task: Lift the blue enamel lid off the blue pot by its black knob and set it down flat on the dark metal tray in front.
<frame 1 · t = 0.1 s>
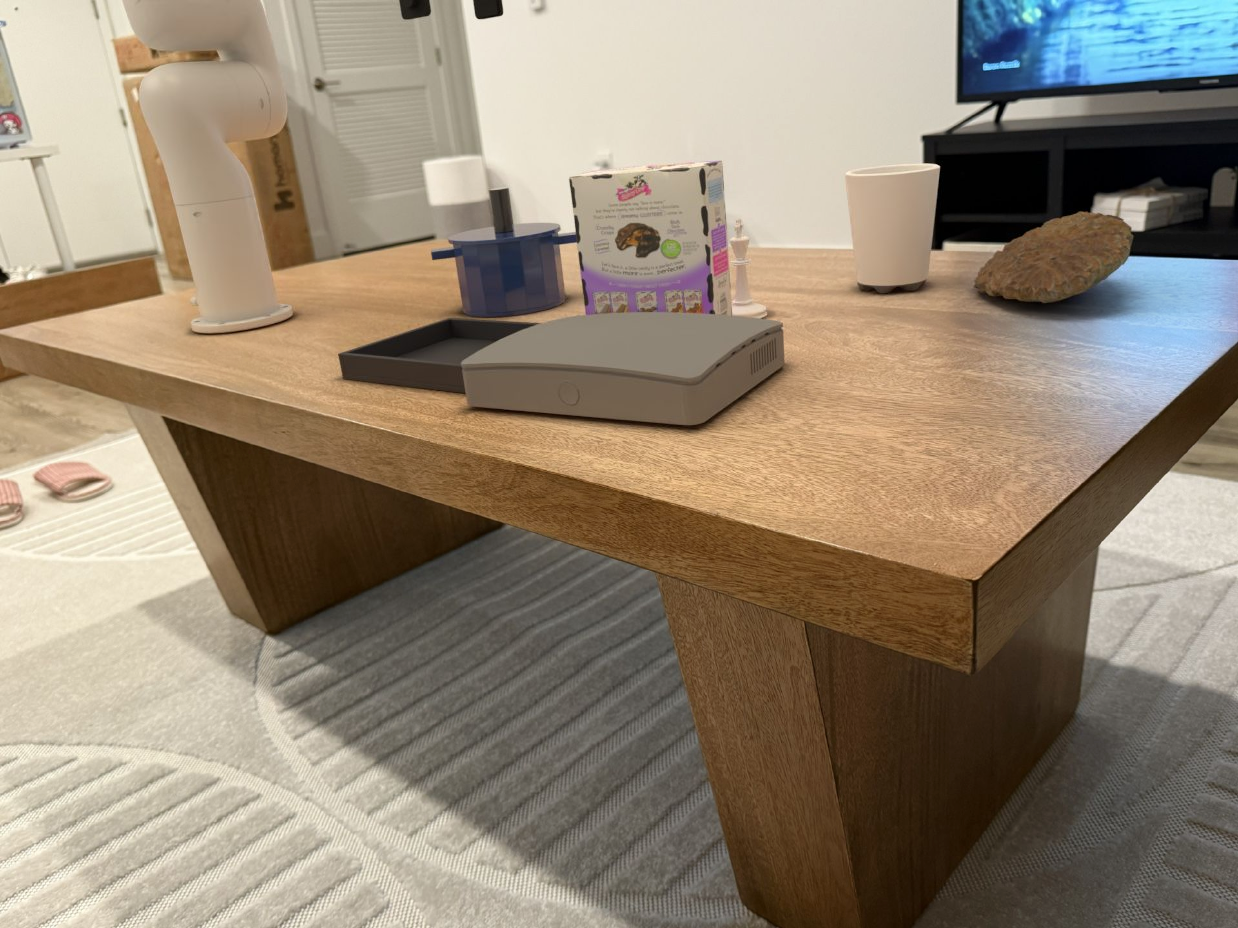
hand: (454, 17, 92), 31 cm above the table, tool pointing down, fingers open, 9 cm apart
chess piece: (743, 318, 104), on the table
candy box: (660, 339, 98), on the table
tray: (461, 364, 96), on the table
electronic device: (633, 387, 83), on the table
lid: (505, 235, 119), point 8 cm above the table, touching pot
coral: (1046, 300, 98), on the table
pot: (514, 305, 122), on the table
cup: (892, 289, 110), on the table
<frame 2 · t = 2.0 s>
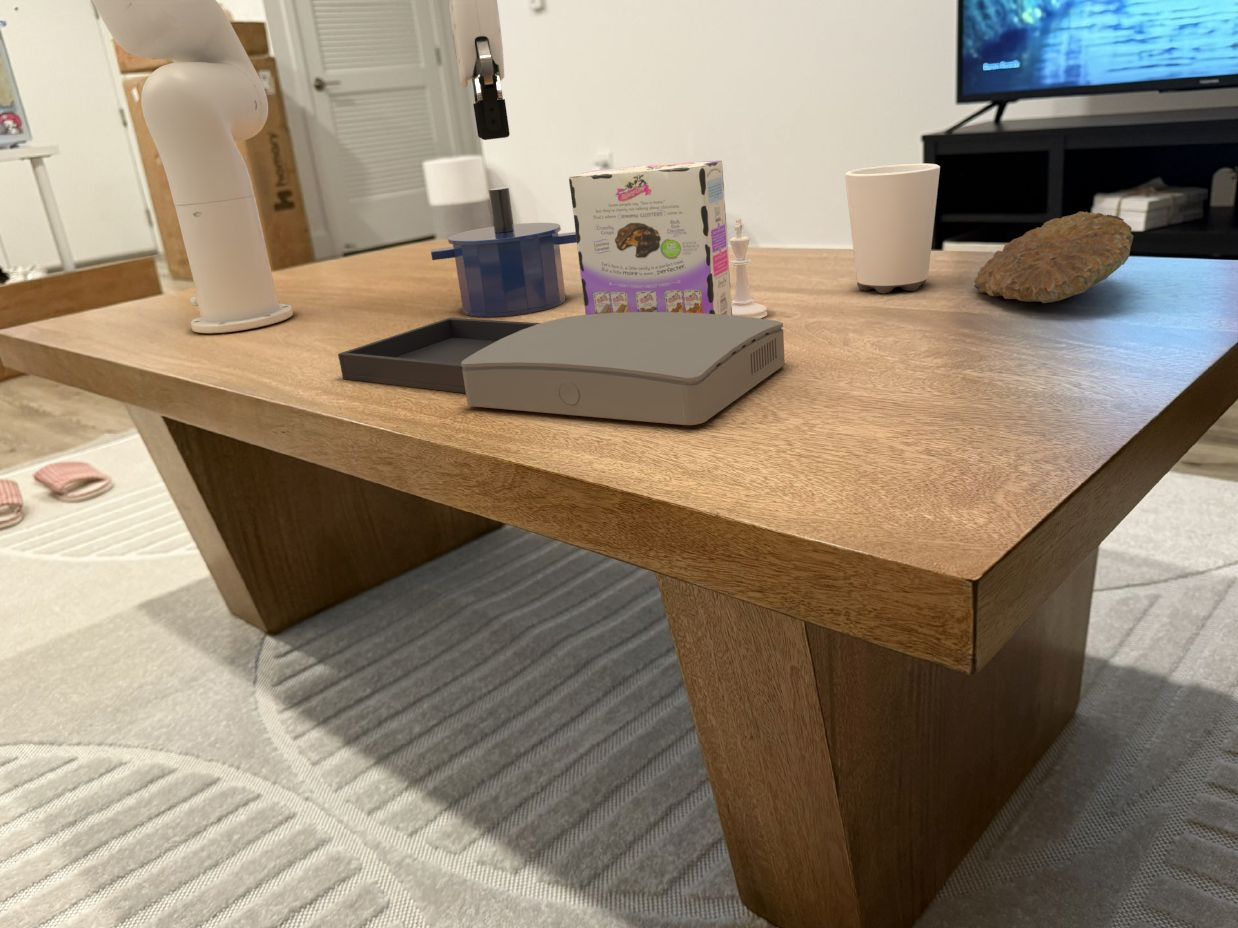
hand: (493, 137, 115), 20 cm above the table, tool pointing down, fingers open, 9 cm apart
nothing on the table moved.
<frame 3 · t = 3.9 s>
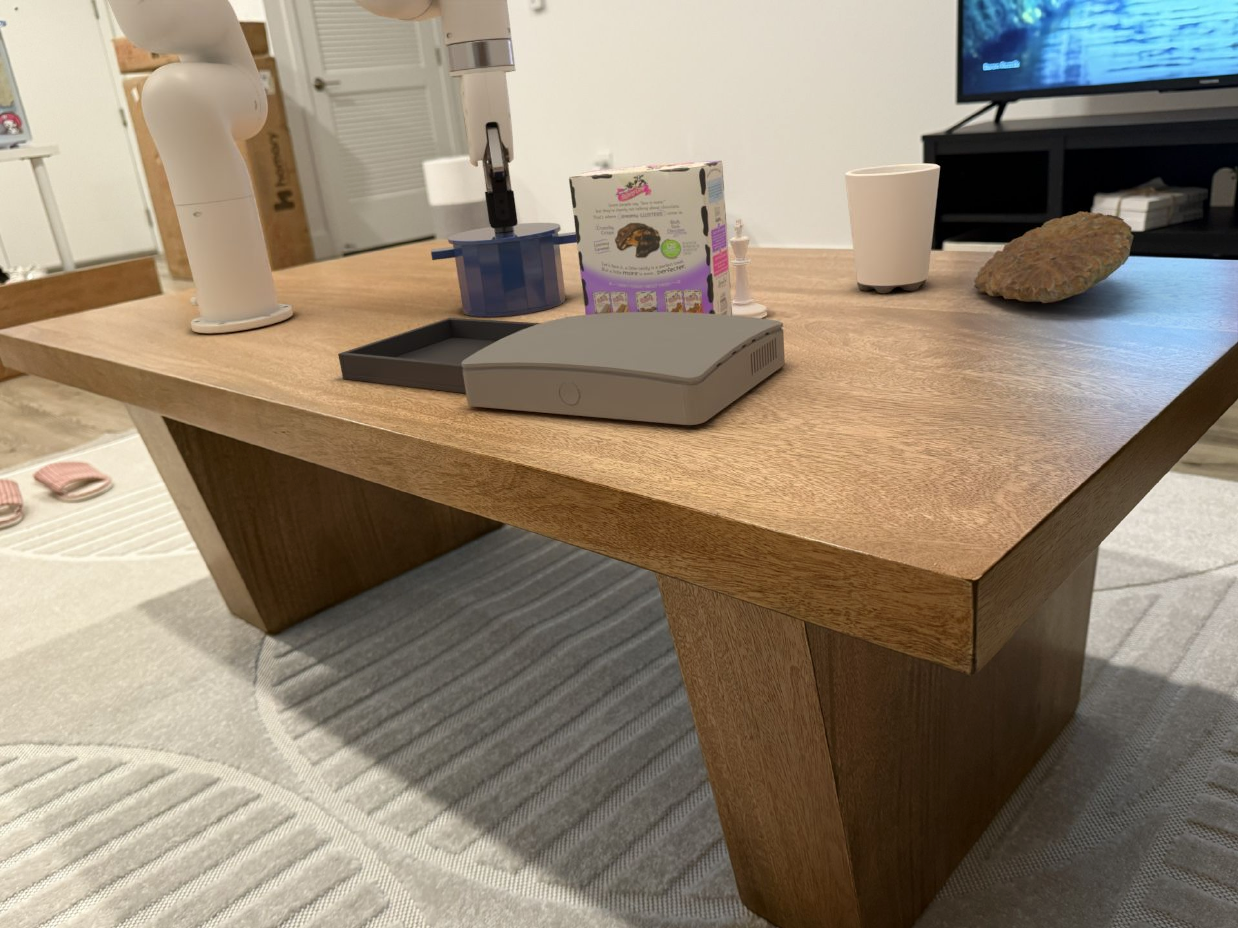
hand: (503, 224, 118), 10 cm above the table, tool pointing down, fingers closed on lid, 2 cm apart
lid: (504, 235, 119), point 9 cm above the table, touching gripper, pot
everything else where it was.
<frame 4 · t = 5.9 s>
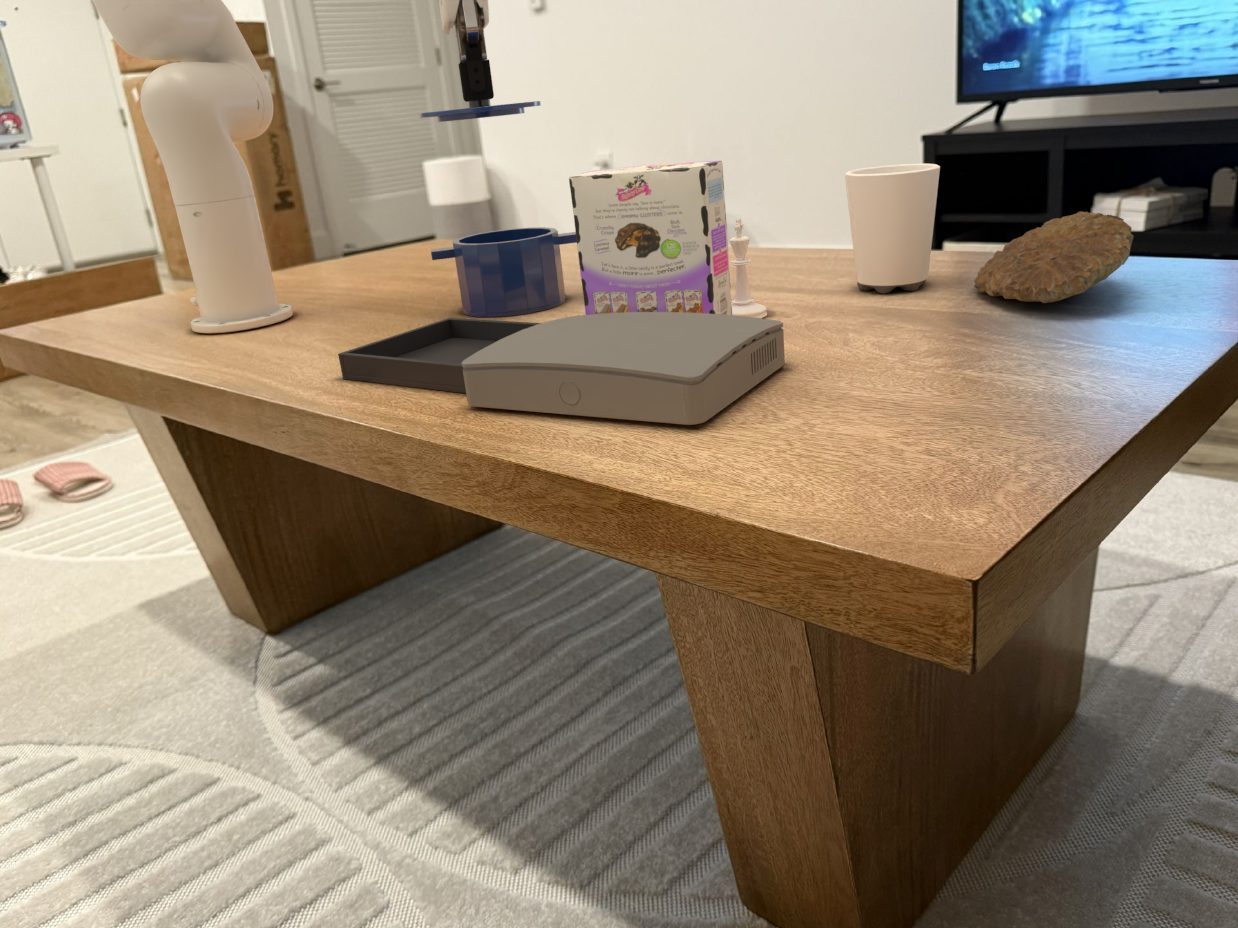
hand: (478, 99, 110), 24 cm above the table, tool pointing down, fingers closed on lid, 2 cm apart
lid: (480, 112, 110), point 23 cm above the table, touching gripper
everything else where it was.
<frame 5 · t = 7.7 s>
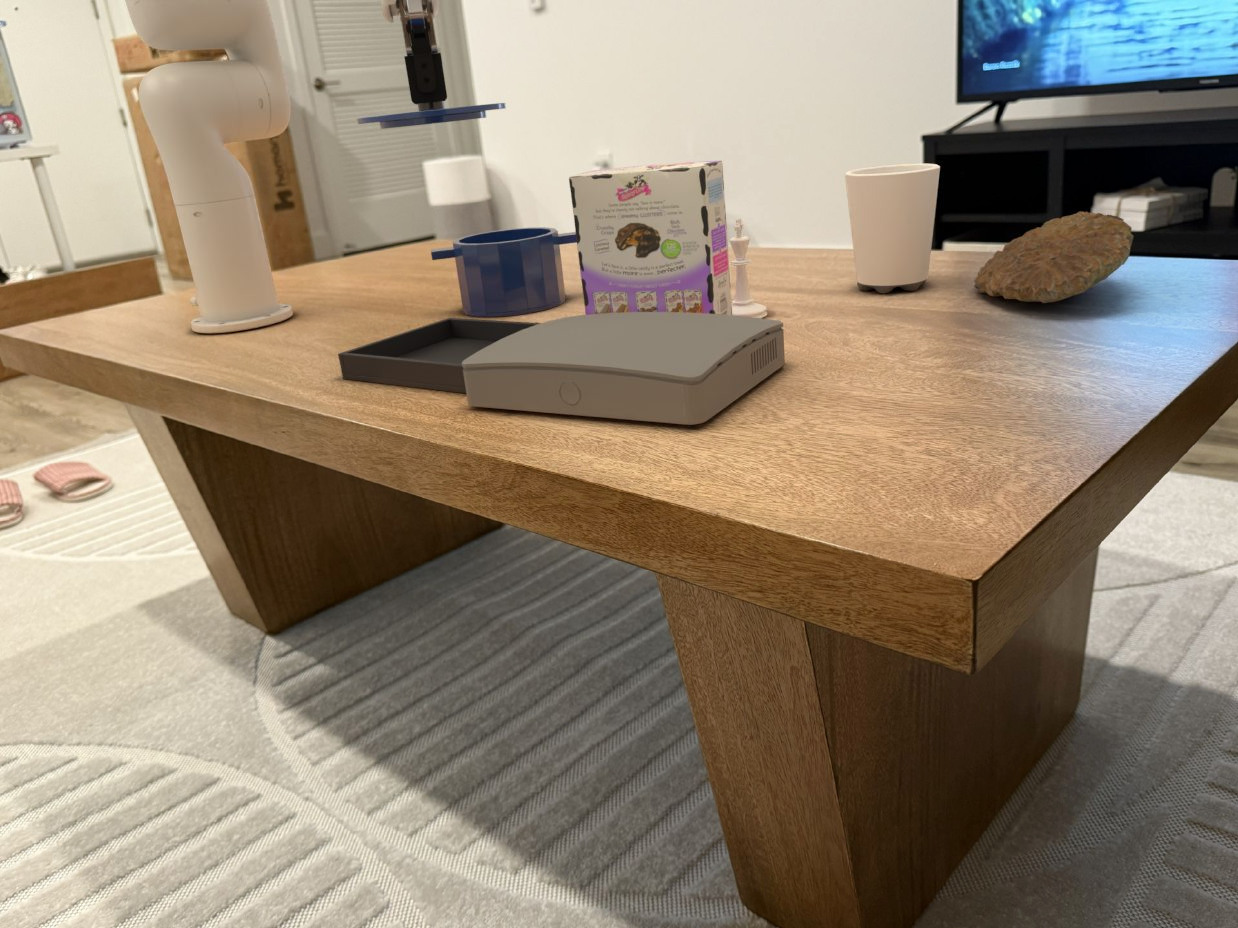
hand: (429, 101, 90), 24 cm above the table, tool pointing down, fingers closed on lid, 2 cm apart
lid: (432, 116, 91), point 23 cm above the table, touching gripper
everything else where it was.
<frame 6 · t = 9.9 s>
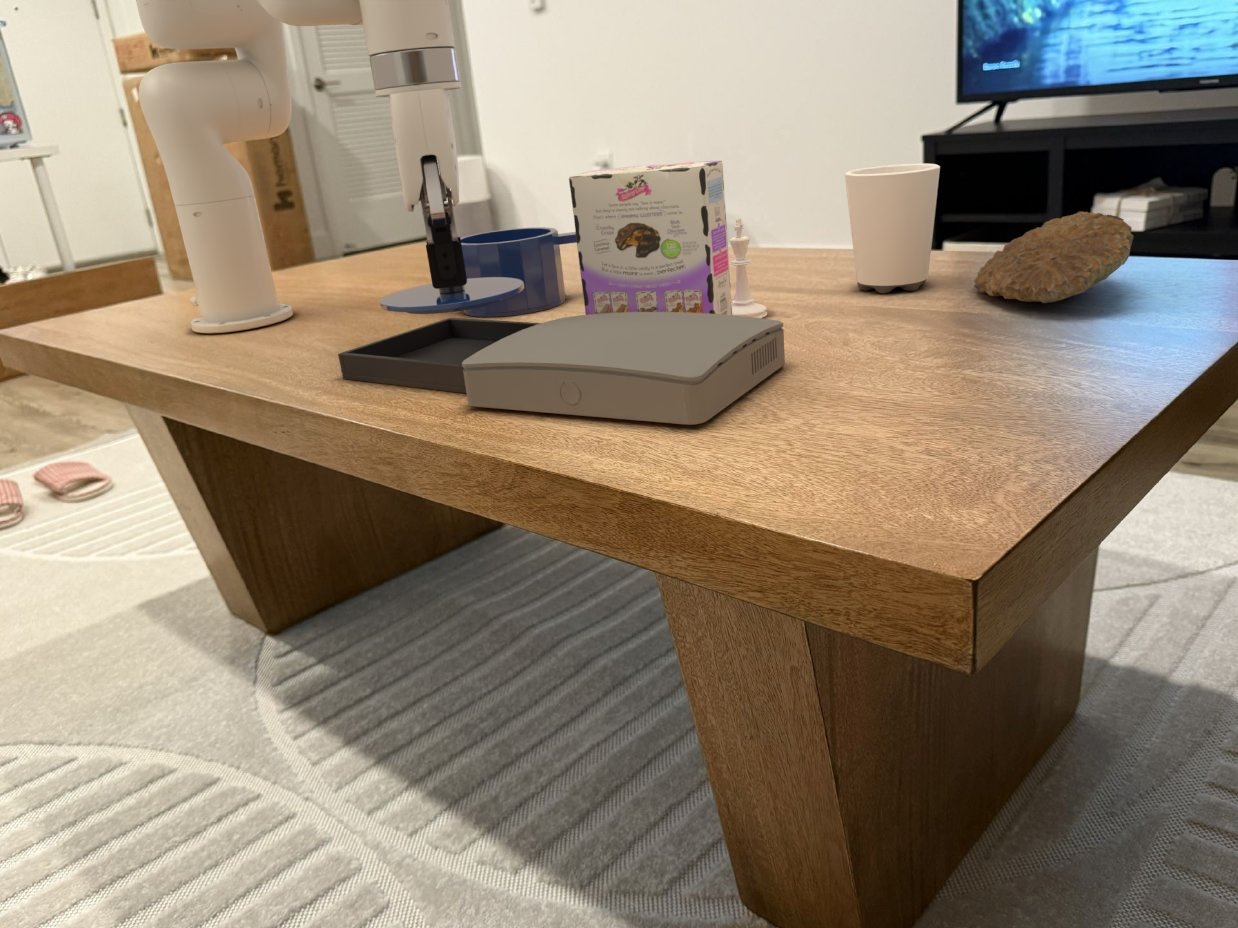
hand: (450, 282, 93), 8 cm above the table, tool pointing down, fingers closed on lid, 2 cm apart
lid: (453, 296, 93), point 7 cm above the table, touching gripper
everything else where it was.
when the fingers open (2 cm above the table, at t = 11.5 s): lid stays where it is, resting on tray.
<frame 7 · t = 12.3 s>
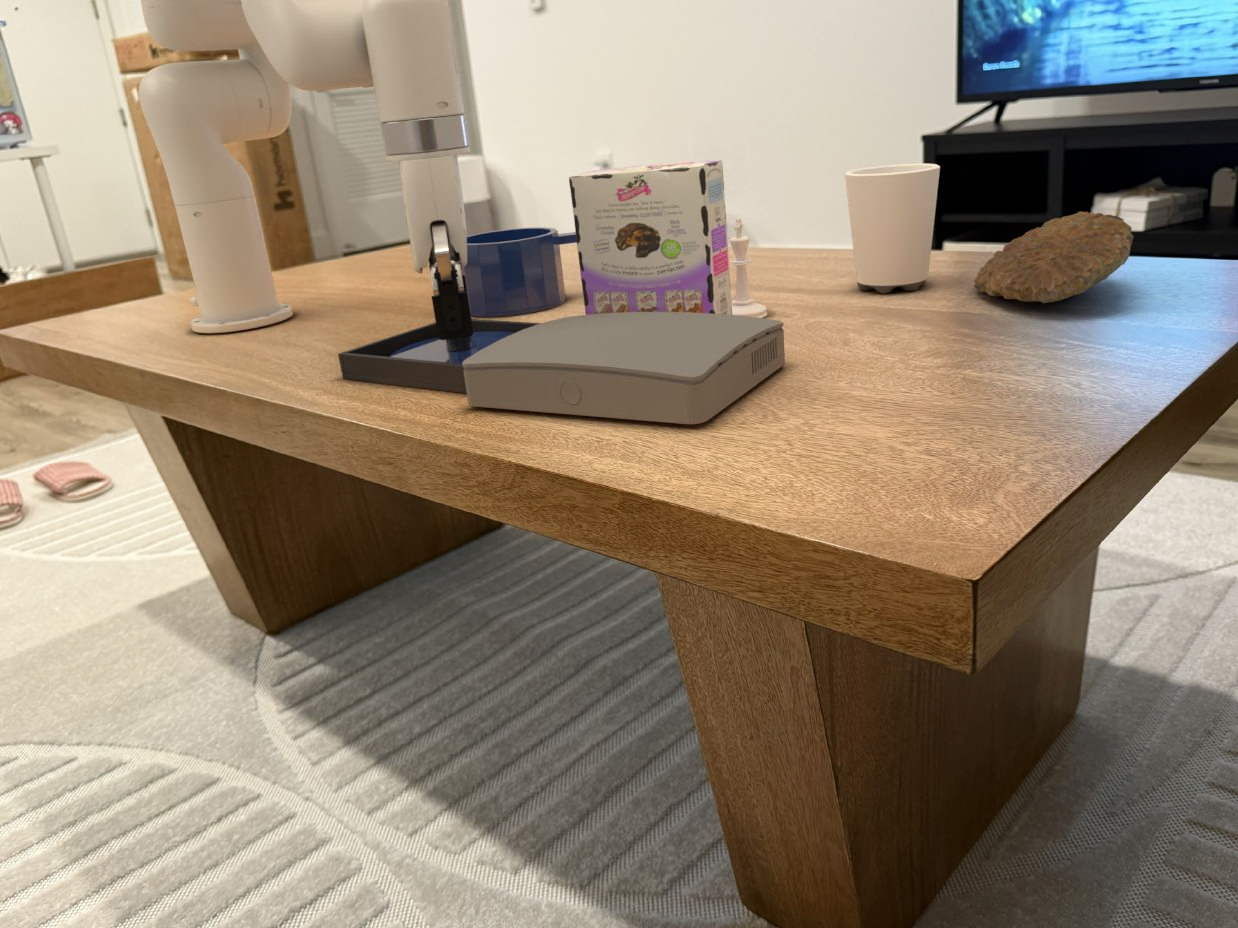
hand: (455, 326, 95), 4 cm above the table, tool pointing down, fingers open, 9 cm apart
lid: (460, 353, 95), point 1 cm above the table, touching tray
everything else where it was.
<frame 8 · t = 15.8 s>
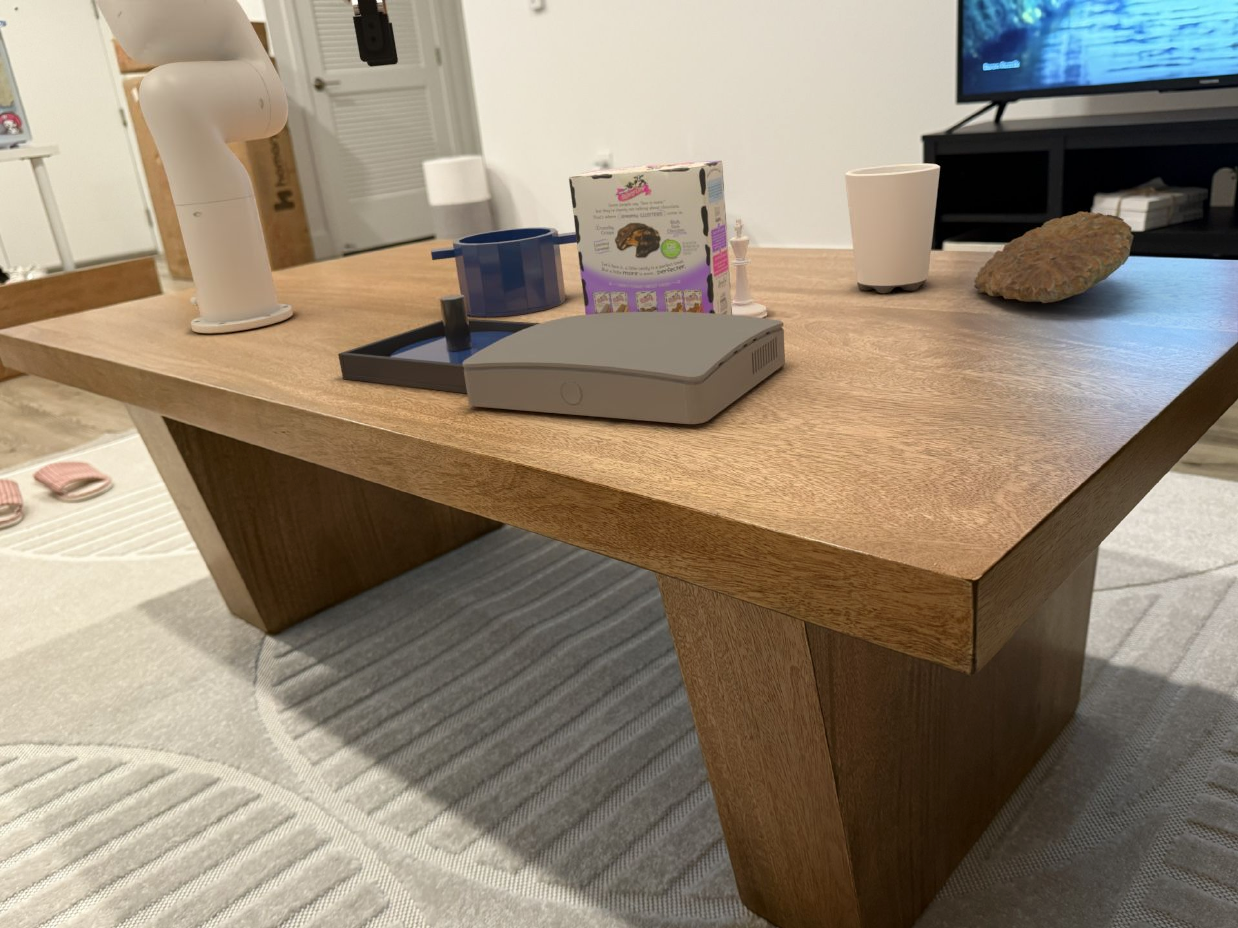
hand: (380, 63, 99), 28 cm above the table, tool pointing down, fingers open, 9 cm apart
nothing on the table moved.
at the end: lid 0.1 cm off-centre in the tray, point 1.1 cm above the tray's base; lid tilted 0°; the gripper is holding nothing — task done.
